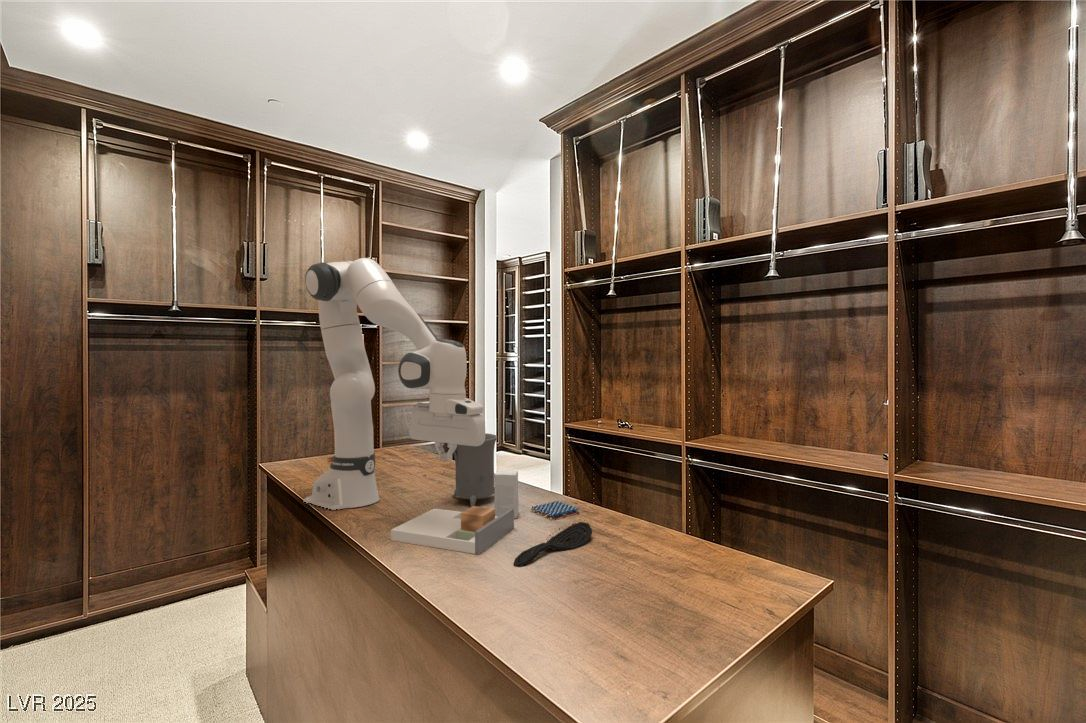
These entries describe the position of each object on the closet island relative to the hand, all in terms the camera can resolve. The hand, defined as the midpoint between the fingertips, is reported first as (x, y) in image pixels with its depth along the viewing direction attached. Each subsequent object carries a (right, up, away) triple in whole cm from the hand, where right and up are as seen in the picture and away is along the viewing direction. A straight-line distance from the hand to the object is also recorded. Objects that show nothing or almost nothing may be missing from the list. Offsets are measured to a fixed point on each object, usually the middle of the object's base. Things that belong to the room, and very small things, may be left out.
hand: (445, 460), depth 126 cm
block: (+9, -16, -3) cm, 18 cm away
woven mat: (+28, -18, +16) cm, 37 cm away
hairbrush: (+27, -19, -10) cm, 34 cm away
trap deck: (+2, -18, -1) cm, 18 cm away
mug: (+3, -18, +27) cm, 33 cm away
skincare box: (+14, -18, +13) cm, 26 cm away
